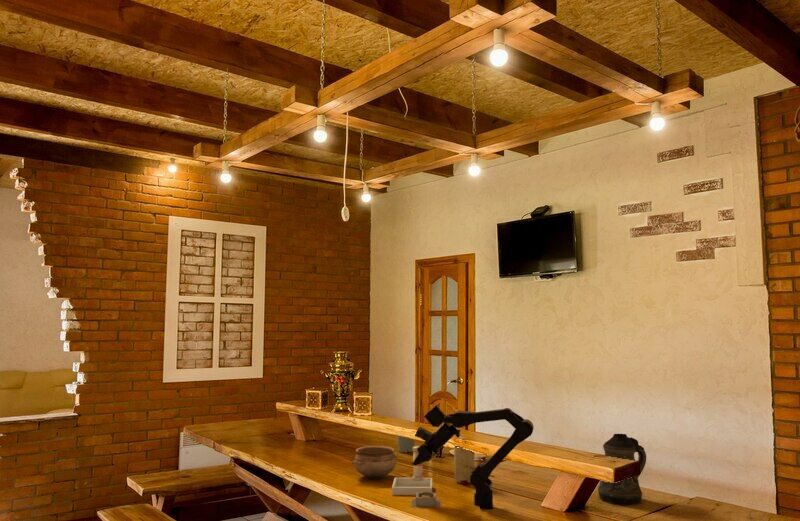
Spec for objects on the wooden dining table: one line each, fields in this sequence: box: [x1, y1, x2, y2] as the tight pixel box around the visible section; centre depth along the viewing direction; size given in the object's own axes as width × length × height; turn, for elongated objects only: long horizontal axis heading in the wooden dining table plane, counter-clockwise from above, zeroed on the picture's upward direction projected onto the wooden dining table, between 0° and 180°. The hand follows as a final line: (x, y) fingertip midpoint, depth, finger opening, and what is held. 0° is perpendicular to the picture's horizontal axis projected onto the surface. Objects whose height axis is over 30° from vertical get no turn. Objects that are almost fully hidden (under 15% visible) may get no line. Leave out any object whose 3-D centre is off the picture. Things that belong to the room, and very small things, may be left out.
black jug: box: [597, 433, 647, 506], centre depth 247 cm, size 16×19×25 cm
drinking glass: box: [397, 435, 416, 453], centre depth 337 cm, size 10×10×12 cm
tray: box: [391, 477, 433, 496], centre depth 257 cm, size 16×16×4 cm
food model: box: [453, 435, 476, 485], centre depth 271 cm, size 10×7×20 cm
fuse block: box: [410, 491, 442, 509], centre depth 238 cm, size 11×10×5 cm
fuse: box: [412, 445, 424, 481], centre depth 244 cm, size 4×4×12 cm
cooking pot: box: [351, 445, 398, 480], centre depth 281 cm, size 25×19×12 cm
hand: (414, 463), depth 244 cm, fingers closed on fuse, 4 cm apart
